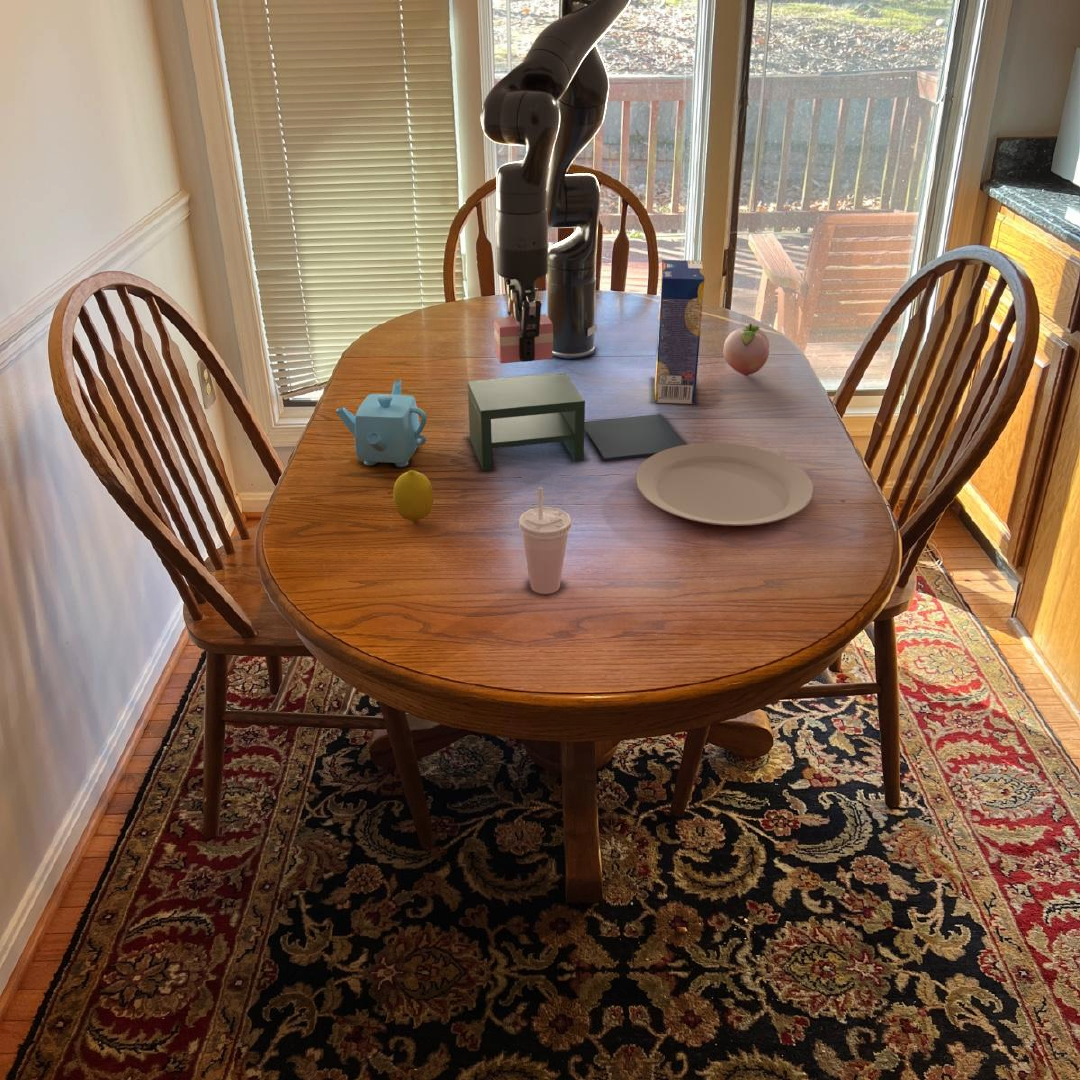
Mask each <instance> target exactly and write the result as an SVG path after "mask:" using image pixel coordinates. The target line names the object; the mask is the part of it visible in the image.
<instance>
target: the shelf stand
mask: <svg viewBox="0 0 1080 1080" xmlns="http://www.w3.org/2000/svg"><path fill="white" fill-rule="evenodd" d="M467 401H468V403H467V404H468V405H467V406H468V420H469V421H468V422H469V423H468V424H469V425H468V427H469V439H470V442H471V444H472V445H471V446H472V447H473V450H474V452H475V455H476V457H477V460H478V462H479V464H480V467H481V469H482V471H483V472H486V471H487V472H488V471H493V469H494V468H493V450H494V449H503V448H514V447H522V446H532V445H542V444H552V443H561V442H562V443H564V445H565V448H566V449H567V451H568V453H569V454H570V456H571V458H572V459H573V461H574V462H581V461H584V460H585V430H584V428H585V422H586V419H585V418H586V400H585V398H584V397H583V396H582V394H581V393H580V391H579V390H578V388H577V387H576V386H575V384H574V382H573V381H572V380H571V378H570V376H569V375H568V374H567V372H566V371H565V372H554V373H543V374H542V373H541V374H532V375H521V376H510V377H498V378H488V379H475V380H468V381H467Z"/></svg>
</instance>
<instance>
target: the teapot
mask: <svg viewBox="0 0 1080 1080" xmlns="http://www.w3.org/2000/svg"><path fill="white" fill-rule="evenodd" d="M335 413H336V415H337V416H338V417H339V418H340V420H341V421H342V422H343V424H344V426H346V428H347V430H348V431H349V432H350V433H351V435H352V436H353V438H354V448H355V454H356V457H357V460H358V461H360V462H363V463H364V465H366V466H374V465H376V464H377V463H389V464H391V463H392V464H394V465H395V466H396V467H398V468H399V467H400V468H403V467H407V466H408V465H409V461H410V459H411V458H412V456H413V455H414V454H415V452H416V450H417V448H418V446H423V445H425V444H426V442H427V437H426V435H425V434H422V431H423V430H424V428H425V426H426V424H427V414H426V413H425V411H424V410H423V409H421V408H419V407H418V406H417V403H416V398H415V396H414V395H409V394H402V380H401V379H397V380H395V381H394V382H393V385H392V390H391V393H390V394H389V393H369V394H368V395H367V396H366V397H364V400H363V401H362V403H361V404H360V405H359V407H358V409H357V411H356V413H355V415H354V414H353V413H352V412H350V411H349V410H348V409H346V407H344V406H343V407H340V408H337V409H336V410H335ZM420 417H421V420H420ZM420 439H421V440H420Z"/></svg>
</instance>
